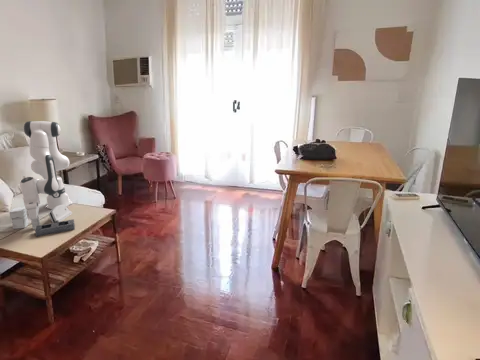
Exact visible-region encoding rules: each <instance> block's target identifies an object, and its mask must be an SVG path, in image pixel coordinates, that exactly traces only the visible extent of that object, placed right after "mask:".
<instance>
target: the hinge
mask: <svg viewBox="0 0 480 360" xmlns="http://www.w3.org/2000/svg"><path fill="white" fill-rule="evenodd" d="M71 215H73V212H72V210H70V209H69V208H68V206H66V205H59V206H56V207H54V208H53V209H50V211H49V212H48V216H49V218H50V220H51V223H56V222H61V221H65V220H66V218H69V217H70V216H71Z"/></svg>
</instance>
